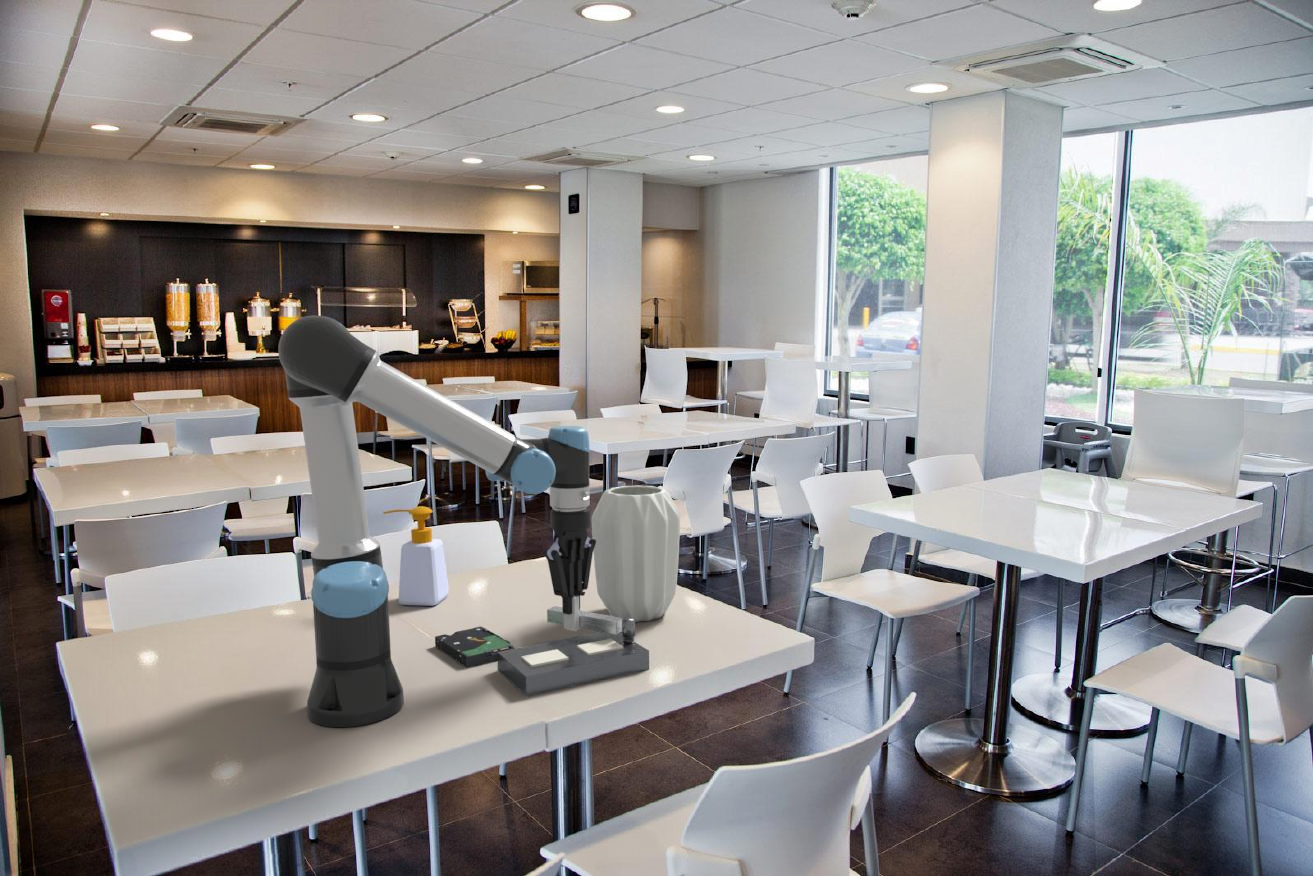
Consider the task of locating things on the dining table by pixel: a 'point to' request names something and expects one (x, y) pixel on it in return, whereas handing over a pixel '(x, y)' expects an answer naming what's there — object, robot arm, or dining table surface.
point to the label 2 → (599, 647)
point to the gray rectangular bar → (596, 622)
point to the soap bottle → (422, 564)
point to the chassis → (571, 663)
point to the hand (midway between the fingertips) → (571, 629)
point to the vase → (636, 551)
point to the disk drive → (472, 646)
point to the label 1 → (544, 658)
